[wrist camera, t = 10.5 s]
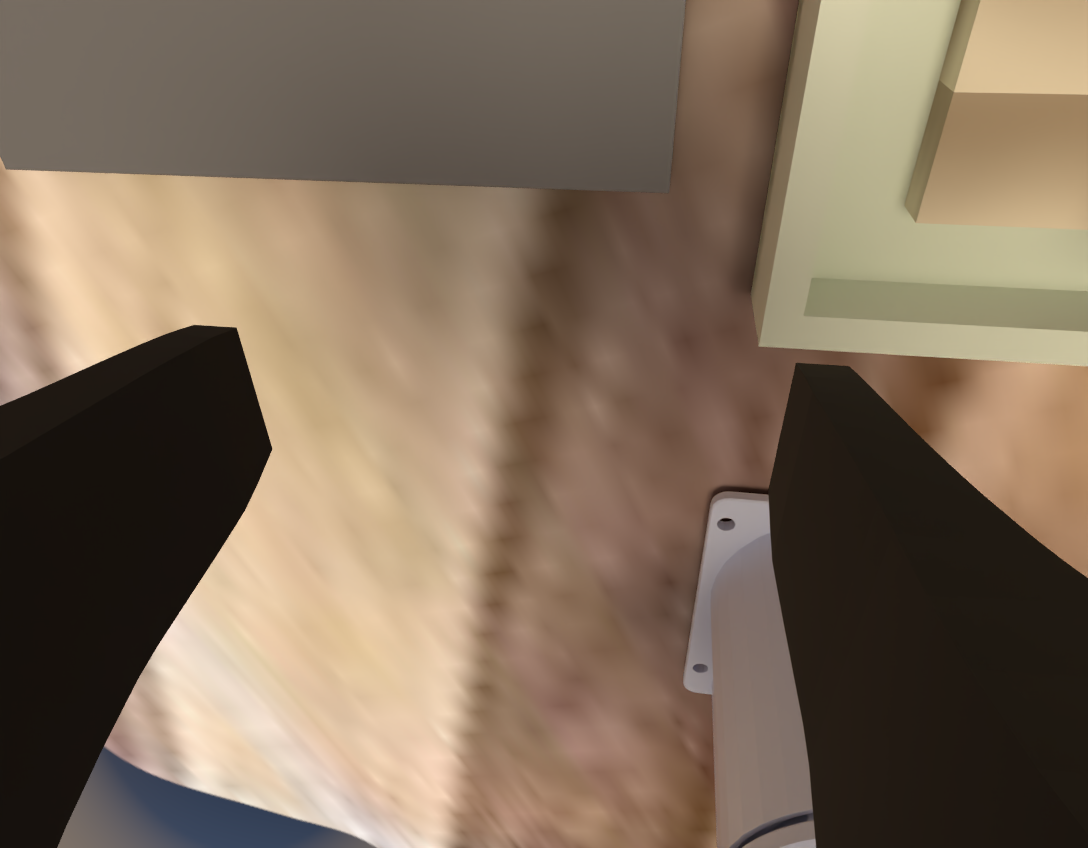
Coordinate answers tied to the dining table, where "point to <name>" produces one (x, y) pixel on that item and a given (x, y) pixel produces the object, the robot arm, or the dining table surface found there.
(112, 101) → the stake board
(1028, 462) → the dining table surface
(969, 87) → the tan square frame
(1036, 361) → the sage tray
